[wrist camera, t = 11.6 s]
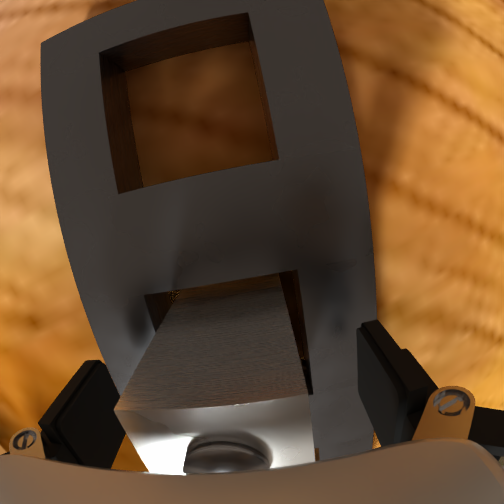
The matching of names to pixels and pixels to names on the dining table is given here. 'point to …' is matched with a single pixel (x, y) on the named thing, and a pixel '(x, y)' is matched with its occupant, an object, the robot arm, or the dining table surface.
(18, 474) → the robot arm
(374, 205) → the dining table surface
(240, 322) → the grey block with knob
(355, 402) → the rail
